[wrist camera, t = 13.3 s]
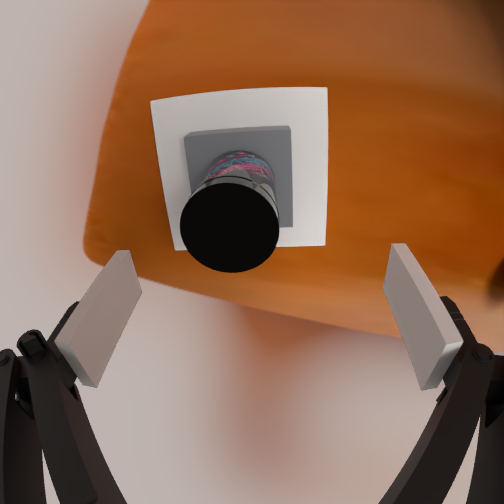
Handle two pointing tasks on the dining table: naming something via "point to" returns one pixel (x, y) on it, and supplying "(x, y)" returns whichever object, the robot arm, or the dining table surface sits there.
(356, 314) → the dining table surface
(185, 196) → the build base
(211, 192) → the supplement container
